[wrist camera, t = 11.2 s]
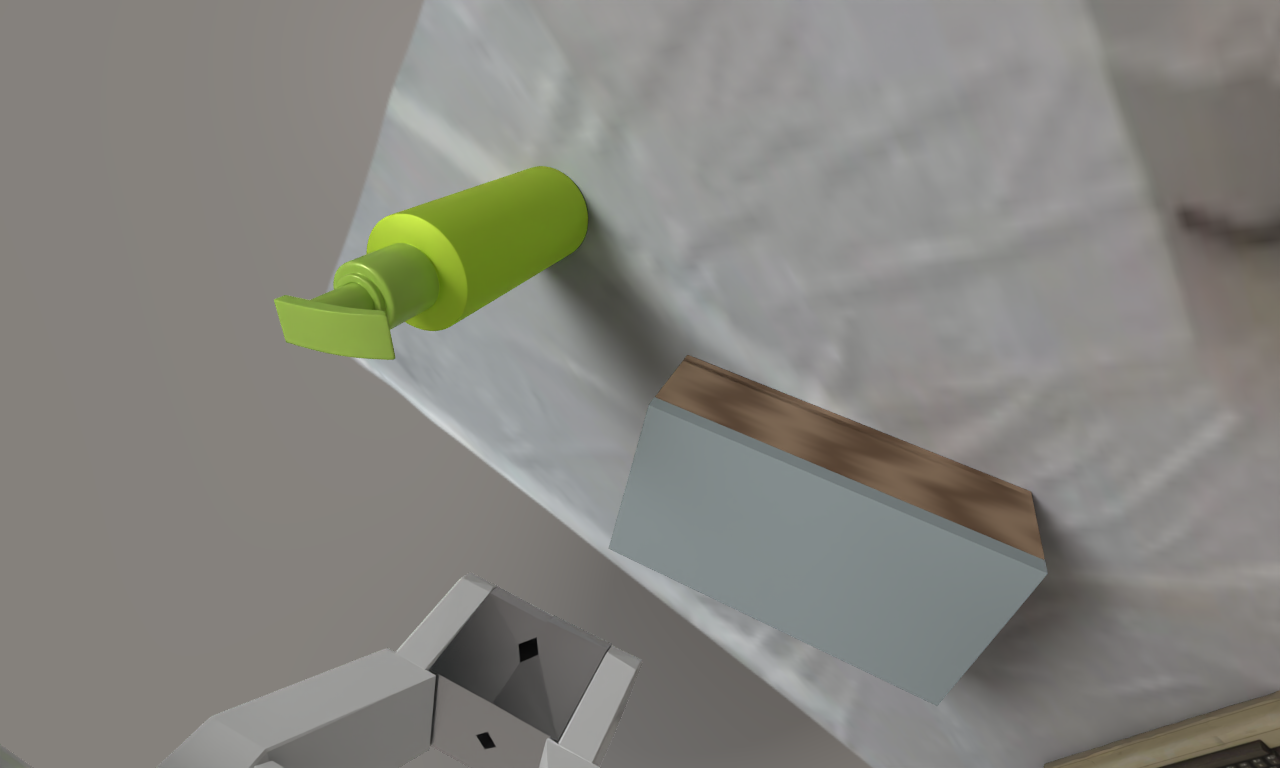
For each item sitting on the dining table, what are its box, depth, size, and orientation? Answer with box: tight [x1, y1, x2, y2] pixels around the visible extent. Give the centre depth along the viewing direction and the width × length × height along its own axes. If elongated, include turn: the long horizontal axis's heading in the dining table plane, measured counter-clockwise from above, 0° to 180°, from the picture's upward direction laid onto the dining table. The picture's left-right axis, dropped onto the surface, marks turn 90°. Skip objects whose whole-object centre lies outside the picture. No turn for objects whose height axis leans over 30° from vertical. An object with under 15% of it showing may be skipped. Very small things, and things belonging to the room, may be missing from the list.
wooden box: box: [655, 355, 1045, 560], centre depth 41 cm, size 22×12×6 cm, turn 76°
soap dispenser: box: [274, 166, 588, 360], centre depth 34 cm, size 6×7×20 cm
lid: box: [609, 397, 1048, 706], centre depth 38 cm, size 22×12×1 cm, turn 76°
